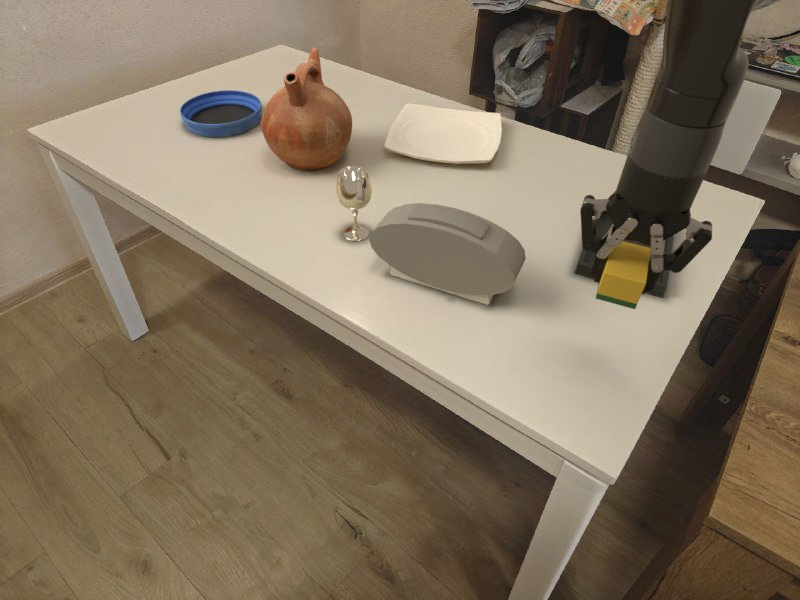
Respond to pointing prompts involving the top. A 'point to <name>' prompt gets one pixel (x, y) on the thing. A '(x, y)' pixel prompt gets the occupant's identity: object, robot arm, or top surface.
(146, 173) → the top surface
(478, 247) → the alarm clock
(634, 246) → the sponge
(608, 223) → the tray
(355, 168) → the wineglass
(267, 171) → the top surface
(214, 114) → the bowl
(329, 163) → the jug
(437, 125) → the plate
